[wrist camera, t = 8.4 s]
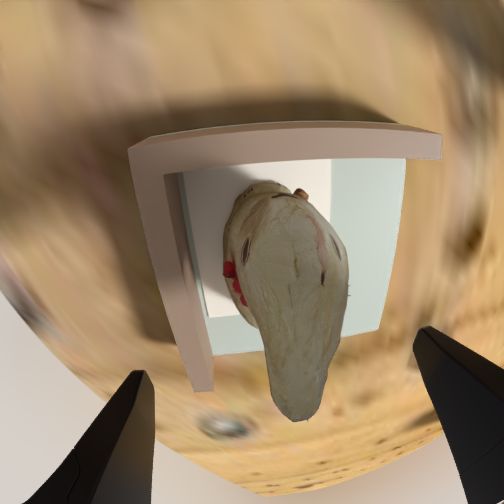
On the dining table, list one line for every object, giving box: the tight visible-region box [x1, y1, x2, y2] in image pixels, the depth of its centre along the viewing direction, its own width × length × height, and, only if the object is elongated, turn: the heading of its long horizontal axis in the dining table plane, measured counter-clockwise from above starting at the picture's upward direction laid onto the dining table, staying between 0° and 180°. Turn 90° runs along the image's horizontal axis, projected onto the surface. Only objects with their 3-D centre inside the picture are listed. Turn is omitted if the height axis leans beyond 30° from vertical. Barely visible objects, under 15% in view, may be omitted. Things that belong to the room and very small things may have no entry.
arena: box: [127, 121, 443, 392], centre depth 15 cm, size 13×14×4 cm
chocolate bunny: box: [222, 182, 353, 422], centre depth 11 cm, size 6×8×10 cm
